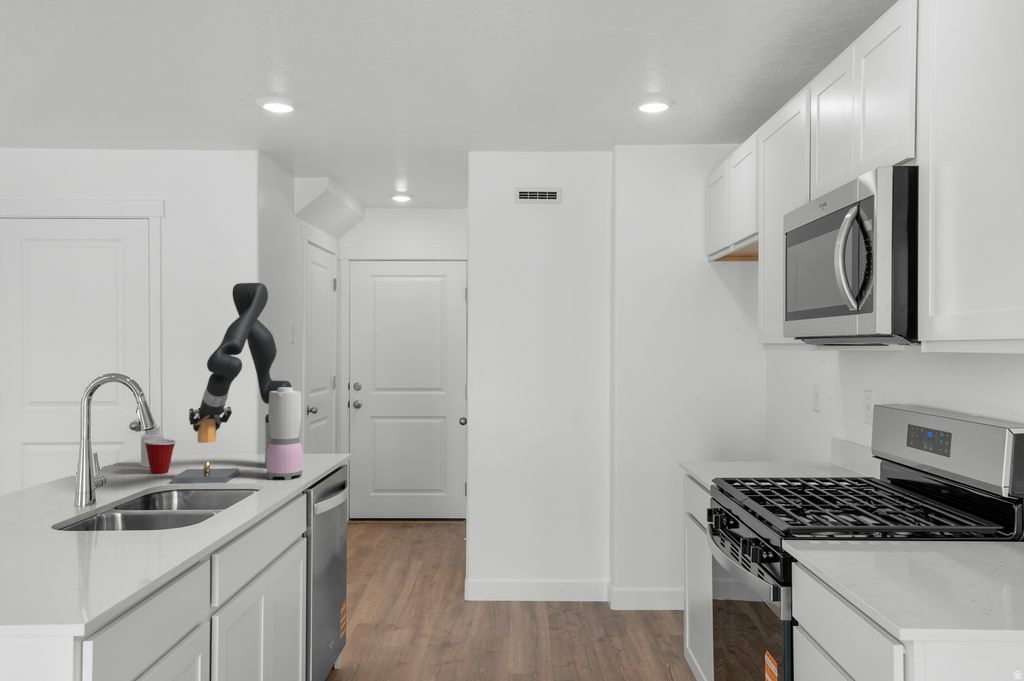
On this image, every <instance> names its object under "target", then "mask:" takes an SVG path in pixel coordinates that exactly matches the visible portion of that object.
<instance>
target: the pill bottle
mask: <svg viewBox="0 0 1024 681" xmlns="http://www.w3.org/2000/svg"><path fill="white" fill-rule="evenodd" d="M160 432H161V428H160V426H157V425H155V428H154V429H152V430H150V431H145V430H144V433H145V434H143V435H141V437H140V464H141V465H140V466H141V467H142V468H150V465H149V461H148V455H147V450H146V445H145V443H144V441H145V440H149V439H165V436H164V434H162V433H160Z"/></svg>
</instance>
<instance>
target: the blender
mask: <svg viewBox="0 0 1024 681" xmlns="http://www.w3.org/2000/svg"><path fill="white" fill-rule="evenodd" d="M302 404H303V403H302V392H301V391H300V390H294V387H281V388H278V391H271V392H270V393H269V404H268V414H269V427H270V432H271V442H270V444H269V446H268V449H267V467H266V475H267V478H268V480H271V481H272V480H274V477H275V478H276V477H277V478H279V477H280V478H282V477H283V478H284V480H285V481H290V480H291V479H292V477H294V476H302V474H303V446H302V443H301V442H300V437H299V436H300V431H301V424H302V410H303V408H302Z"/></svg>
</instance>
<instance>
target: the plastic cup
mask: <svg viewBox="0 0 1024 681" xmlns="http://www.w3.org/2000/svg"><path fill="white" fill-rule="evenodd" d="M144 443H145V445H146V450H147V455H148V461H149V465H150V467H149V470H150V473H151V474H152V475H160V474H161V475H162V474H167V473H169V471H170V465H171V461H172V456H173V451H174V449H175V448H174V447H175V445H176V444H177V443H178V442H177V441H176V440H175V439H170V438H169V439H168V438H164V439H149V440H145V441H144Z"/></svg>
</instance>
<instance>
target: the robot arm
mask: <svg viewBox="0 0 1024 681" xmlns="http://www.w3.org/2000/svg"><path fill="white" fill-rule="evenodd" d="M232 300H233V304H234V306H235V309H236V311H237V314H238V317H237V318H236V319H235V320H234V321H233V322H232V323H231V324H229V326H228V327H227V329H226V330H225V333H224V336H223V338H222V340H221V343H220V344H219V345H218V347H217V348H216V349H215V351H213V352H212V354H211V355H210V356H209V358H208V360H207V362H206V367H207V369H208V371H209V372H211V374H210V375H209V378H208V381H207V385H206V388H205V390H204V391H203V395H202V400H201V403H200V407H198V408H197V409H194V408H192V407H191V408H190V409H189V412H188V420H189V424H190V425H192V429H193V431H194V432H196V433H198V428H199V424H200V423H201V422H204V421H205V420H206V419H216V431H218V430H219V429H220V427H221V424H222V423H224V424H225V423H228V422H229V421H228V420H230V417H231V415H232V413H233V411H232V408H231V406H227V407H226V408H225V406H226V403H227V400H228V397H229V396H228V395H229V390H230V387H231V386H232V385H231V384H232V383H233V381H234V380H235V379H236V378H237V377H238V376H239V375H240V372H241V371H242V369H243V362H242V360H241V358H239V357H236V356H239V355H240V354H241V353H242V351H243V350H244V348H245V344H246V343H247V344H248V350H249V352H250V355H251V358H252V362H253V365H254V368H255V373H256V378H257V382H258V388H259V394H260V397H261V400H262V402H263V403H264V404H266V405H267V404H268V405H269V393H270V392H271V391H278V388H281V387H292V384H291V382H290V381H288V380H272V378H271V375H270V374H271V373H270V371H271V367H272V365H273V363H274V361H275V360H276V356H277V352H278V351H277V346H276V341H275V339H274V335H273V334H272V332H271V331H270V330H269V329H268V328H267V327H266V326H265V325H264V324H263V323H262V322H261V321H260V320H259V318H260V316H261V314H262V312H263V310H264V309H265V308H266V305H267V303H268V300H269V291H268V289H267V286H266V285H265V284H264V283H262V282H241V283H239V282H238V283H236V284H235V285H234V286H233V287H232ZM292 388H293V387H292ZM198 413H199V414H198ZM221 415H222V416H221ZM264 421H265V422H264V424H265V426H264V432H265V433H264V467H265V468H267V449H268V446H269V444H270V442H271V432H270V427H269V413H267V414H266V415H265V417H264Z"/></svg>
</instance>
